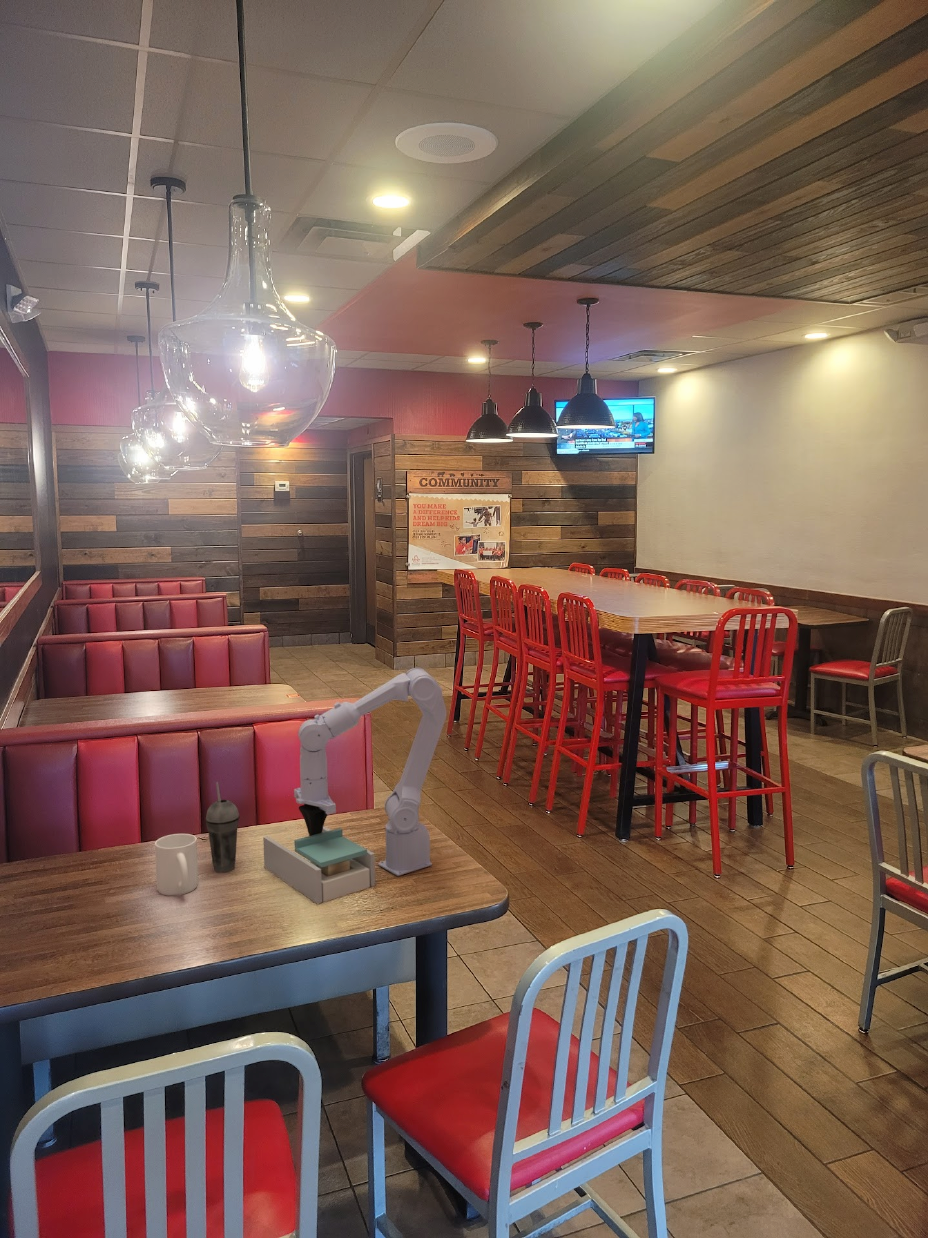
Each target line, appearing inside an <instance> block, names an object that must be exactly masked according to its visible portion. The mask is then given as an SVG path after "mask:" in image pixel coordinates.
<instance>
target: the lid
mask: <svg viewBox="0 0 928 1238" xmlns="http://www.w3.org/2000/svg"><path fill="white" fill-rule="evenodd" d="M343 834H344V833H343V829H342V828H340V827H338V828H334V829H330V831H327V832H323V833H319V834H315V835H312V836H309V835H308V836H305V837H300V838H297V839H294V842H293V843H294V853H296V854H297V855H299V856H301V857H302V858H304V859H305V860H307V861H309V862H313V863H314V864H316V865H318V866H319V867H325V866H328V865H332V864H335V863H339V862H342V861H345V860H349V859H352V858H356V857H359V856H363V855H366V854H367V850H368V849H367V848H366V847H364V848H363V846H361V845H360V844H358V843H356V842H354V841H352V840H351V839H349V838H347V837H345V836H344V835H343ZM350 840H351V841H350Z"/></svg>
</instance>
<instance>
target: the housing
mask: <svg viewBox="0 0 928 1238" xmlns="http://www.w3.org/2000/svg"><path fill="white" fill-rule="evenodd" d="M330 830H331V828H329V827H327V826H323V830H322V833H323V832H327V831H330ZM349 840H350V841H352V839H349ZM362 847H363V846H362ZM363 848H365V847H363ZM349 860H350V870H348V871H345V872H341V873H338V874H335V875H331V876H328V877H327V876H325V875H324V874H322V873H321V869H320V868H318V867H317V865H316V864H314V863H313V862H311V861H309V860H308V859H306V858H305V857H303V856H301V855H300V854H298V853H296V852H295V851H292V850H291V849H289V848H287V847H285V846H284V845H283V844H281V843H280V842H278V841H276V840H275V839H273V838H272V837H270V836H268V835H267V836H263V867H264V869H266V870H267V871H268V872H270V873H271V874H273V875H274V876H276V877H278V878H279V879H280V880H282V881H283V882H285V883H286V884H288V885H289V886H291V887H292V888H294V889H295V890H296V891H298V892H299V893H300V894H302V895H303V896H305V897H306V898H308V899H310V900H311V901H312V902H314V903H315V904H316V905H319V904H322V903H325V902H328V901H331V900H335V899H339V898H341V897H345V896H346V895H350V894H353V893H357V892H360V891H362V890H366V889H369V888H370V887H371V888H372V887H375V886H376V853H375V852H373V851H371V850H369V849H367V854H366V855H363V856H359V857H356V858H352V859H349Z"/></svg>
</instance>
